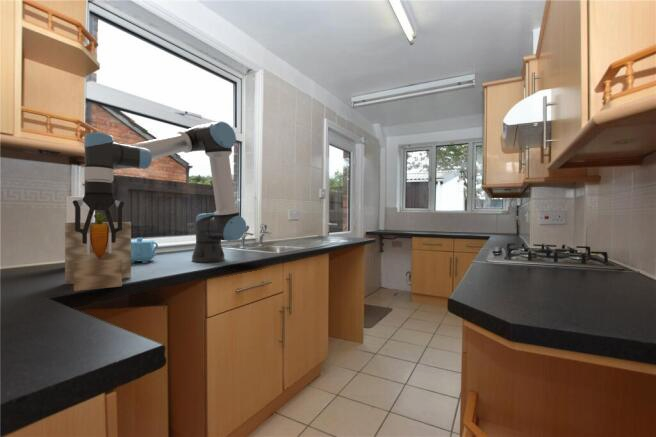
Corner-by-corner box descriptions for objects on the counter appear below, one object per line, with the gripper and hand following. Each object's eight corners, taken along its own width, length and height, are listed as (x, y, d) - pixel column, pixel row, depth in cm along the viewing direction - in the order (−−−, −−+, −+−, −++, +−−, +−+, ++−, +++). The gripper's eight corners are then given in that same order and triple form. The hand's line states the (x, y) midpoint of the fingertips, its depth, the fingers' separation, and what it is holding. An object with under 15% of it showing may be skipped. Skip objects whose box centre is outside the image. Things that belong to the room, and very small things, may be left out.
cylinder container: (79, 269, 126) (79, 195, 126) (60, 268, 128) (60, 195, 128) (100, 265, 136) (100, 196, 135) (82, 264, 138) (82, 196, 137)
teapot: (160, 258, 157) (160, 236, 157) (154, 264, 140) (154, 239, 140) (123, 260, 151) (123, 236, 151) (112, 266, 135) (112, 240, 134)
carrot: (98, 257, 104) (97, 212, 104) (112, 257, 104) (112, 212, 103) (85, 259, 99) (85, 212, 99) (101, 259, 99) (101, 212, 99)
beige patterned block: (130, 277, 112) (130, 222, 112) (133, 284, 101) (133, 223, 101) (65, 283, 102) (65, 222, 102) (60, 292, 91) (60, 224, 91)
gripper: (131, 184, 109) (131, 250, 110) (64, 180, 99) (64, 253, 99) (132, 182, 103) (132, 253, 104) (61, 178, 93) (62, 256, 93)
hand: (99, 253), depth 101 cm, fingers closed on carrot, 5 cm apart
